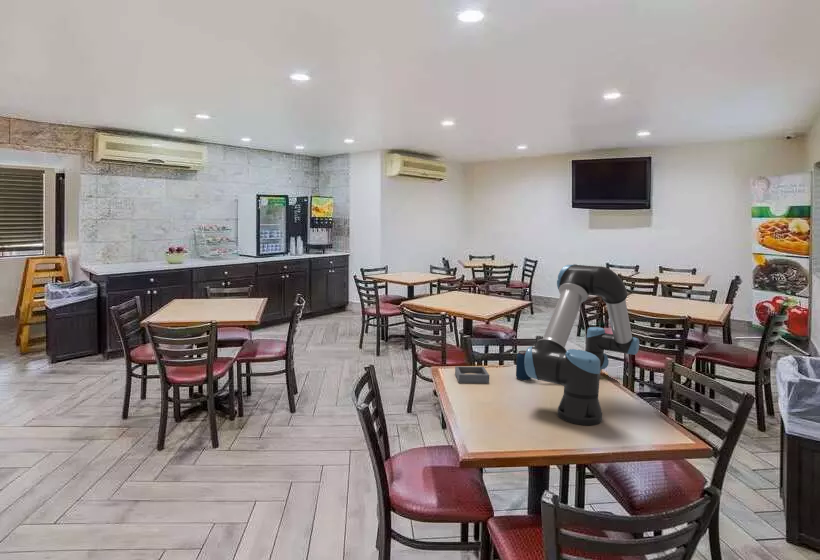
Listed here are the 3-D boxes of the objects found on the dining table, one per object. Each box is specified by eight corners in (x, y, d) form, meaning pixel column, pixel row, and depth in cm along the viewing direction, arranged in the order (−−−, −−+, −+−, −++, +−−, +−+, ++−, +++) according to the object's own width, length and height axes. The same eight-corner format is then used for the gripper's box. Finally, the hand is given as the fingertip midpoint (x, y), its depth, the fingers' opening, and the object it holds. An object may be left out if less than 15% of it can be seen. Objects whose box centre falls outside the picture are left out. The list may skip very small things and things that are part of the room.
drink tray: (489, 383, 214) (489, 375, 214) (458, 382, 214) (459, 374, 214) (483, 374, 227) (483, 366, 227) (455, 373, 227) (455, 366, 227)
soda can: (533, 381, 219) (535, 354, 218) (518, 381, 219) (519, 354, 217) (529, 376, 226) (530, 350, 225) (513, 376, 225) (515, 350, 224)
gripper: (589, 378, 216) (544, 380, 211) (560, 362, 240) (519, 364, 235) (590, 361, 215) (545, 363, 210) (561, 347, 239) (519, 348, 235)
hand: (531, 364), depth 223 cm, fingers open, 13 cm apart
